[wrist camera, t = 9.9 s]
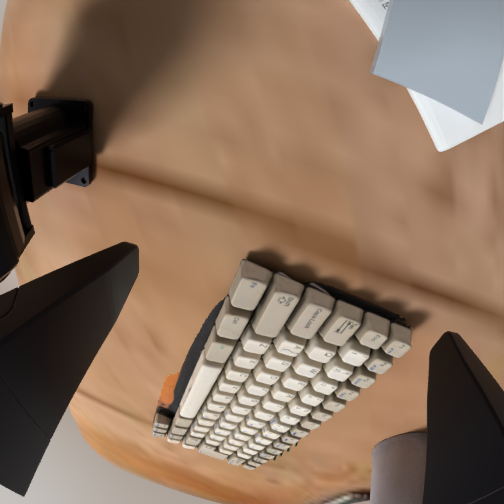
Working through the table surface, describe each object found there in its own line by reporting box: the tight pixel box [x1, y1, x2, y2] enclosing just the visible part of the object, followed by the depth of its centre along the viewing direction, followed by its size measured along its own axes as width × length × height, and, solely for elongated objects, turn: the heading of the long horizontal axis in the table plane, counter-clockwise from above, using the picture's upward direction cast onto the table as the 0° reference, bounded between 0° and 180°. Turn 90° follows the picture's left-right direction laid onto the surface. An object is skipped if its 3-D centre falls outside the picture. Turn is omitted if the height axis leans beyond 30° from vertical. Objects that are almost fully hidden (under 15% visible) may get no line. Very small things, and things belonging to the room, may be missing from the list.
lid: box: [370, 0, 504, 125], centre depth 11 cm, size 7×10×1 cm, turn 168°
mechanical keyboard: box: [152, 259, 412, 470], centre depth 33 cm, size 38×19×3 cm, turn 161°
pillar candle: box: [370, 432, 427, 504], centre depth 29 cm, size 10×10×15 cm
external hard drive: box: [349, 0, 504, 152], centre depth 12 cm, size 2×8×12 cm
